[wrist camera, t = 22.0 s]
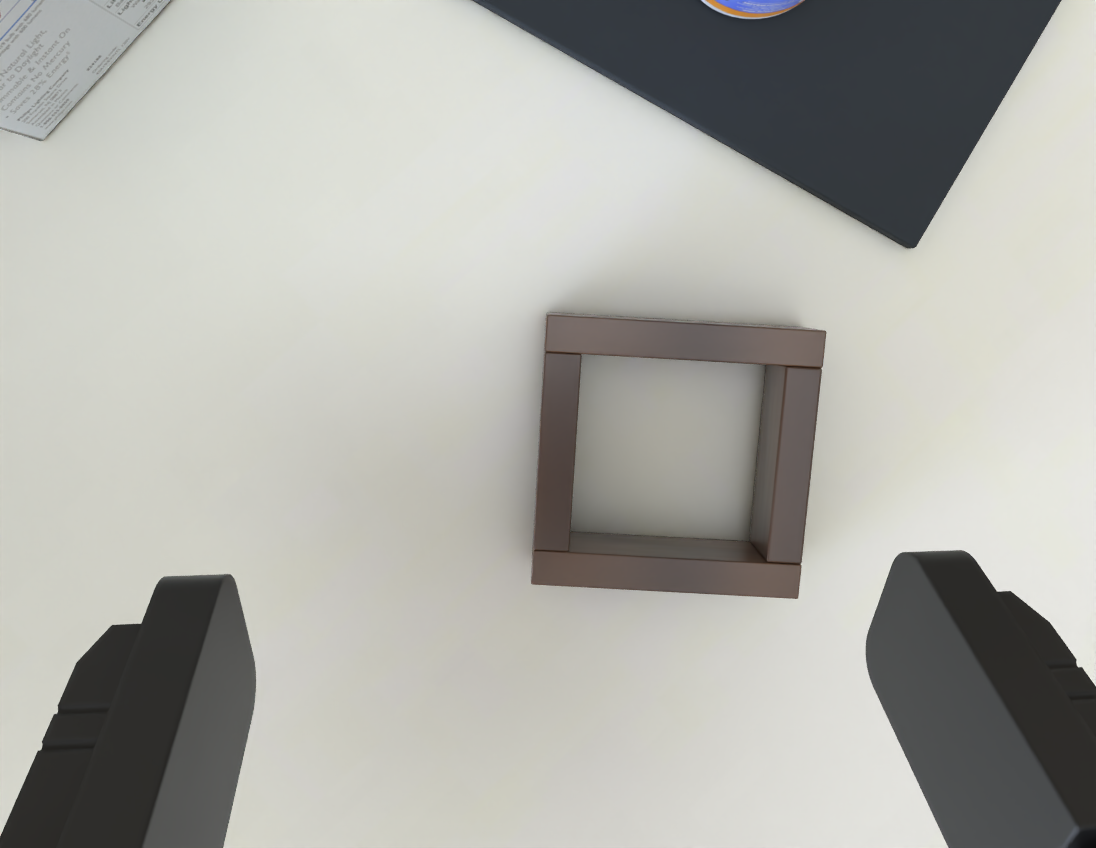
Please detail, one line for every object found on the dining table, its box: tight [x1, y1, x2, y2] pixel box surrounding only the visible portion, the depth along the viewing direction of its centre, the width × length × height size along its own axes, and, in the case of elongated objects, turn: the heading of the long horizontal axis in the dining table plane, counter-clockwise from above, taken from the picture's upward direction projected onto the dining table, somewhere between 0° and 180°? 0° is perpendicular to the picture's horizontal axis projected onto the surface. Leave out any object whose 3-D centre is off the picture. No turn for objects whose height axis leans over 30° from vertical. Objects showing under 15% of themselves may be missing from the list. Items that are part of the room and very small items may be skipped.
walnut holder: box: [531, 312, 826, 599], centre depth 30 cm, size 9×9×3 cm
